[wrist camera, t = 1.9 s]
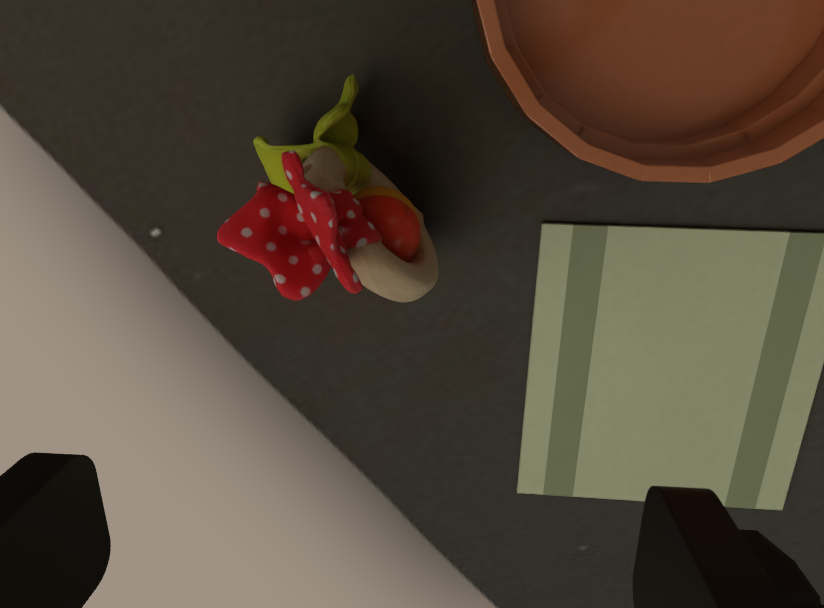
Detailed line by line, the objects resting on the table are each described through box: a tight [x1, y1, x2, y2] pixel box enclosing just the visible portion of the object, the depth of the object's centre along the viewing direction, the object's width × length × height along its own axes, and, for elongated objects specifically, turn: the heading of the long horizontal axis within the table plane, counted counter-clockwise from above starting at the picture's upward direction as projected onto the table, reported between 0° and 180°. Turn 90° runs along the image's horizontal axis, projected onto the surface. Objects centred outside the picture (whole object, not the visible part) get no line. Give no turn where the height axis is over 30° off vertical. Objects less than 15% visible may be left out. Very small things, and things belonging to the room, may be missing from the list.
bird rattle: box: [217, 75, 438, 302], centre depth 23 cm, size 6×11×9 cm
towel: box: [517, 223, 824, 510], centre depth 30 cm, size 15×14×1 cm
